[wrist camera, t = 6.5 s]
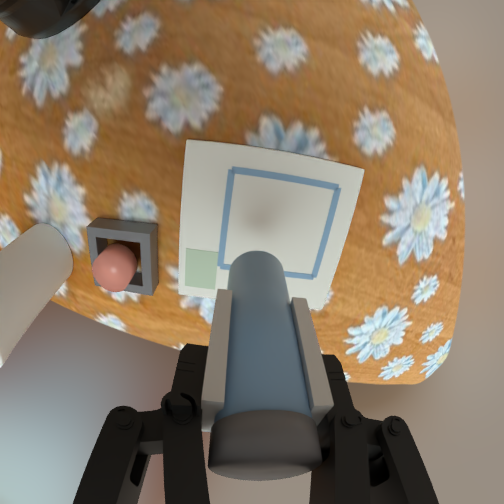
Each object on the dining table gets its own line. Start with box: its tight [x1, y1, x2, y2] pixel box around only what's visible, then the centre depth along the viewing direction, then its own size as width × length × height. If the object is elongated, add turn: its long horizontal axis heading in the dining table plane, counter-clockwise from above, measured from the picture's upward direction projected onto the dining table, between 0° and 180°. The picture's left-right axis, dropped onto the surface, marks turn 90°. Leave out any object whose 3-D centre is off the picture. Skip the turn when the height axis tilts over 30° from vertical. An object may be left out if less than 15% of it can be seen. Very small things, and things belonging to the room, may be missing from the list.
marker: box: [208, 251, 322, 481], centre depth 12 cm, size 4×4×12 cm
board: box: [179, 139, 365, 310], centre depth 26 cm, size 16×16×1 cm
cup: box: [0, 223, 73, 367], centre depth 20 cm, size 8×8×16 cm
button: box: [92, 243, 137, 292], centre depth 24 cm, size 4×4×2 cm
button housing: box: [87, 218, 159, 296], centre depth 26 cm, size 7×7×2 cm
